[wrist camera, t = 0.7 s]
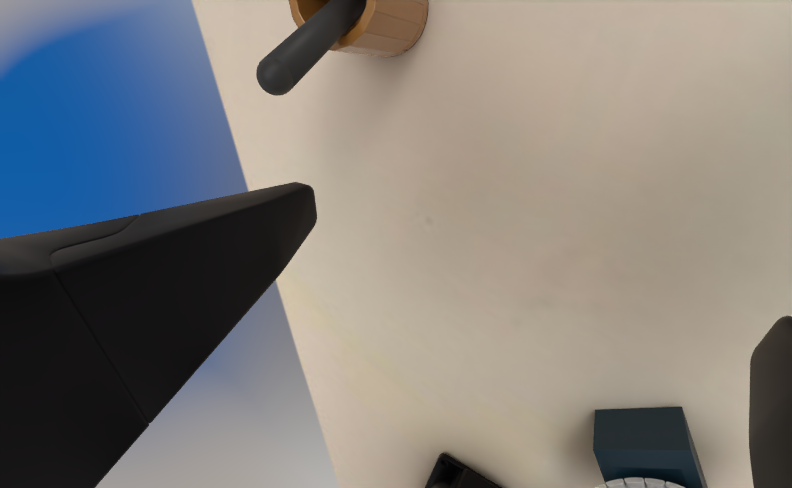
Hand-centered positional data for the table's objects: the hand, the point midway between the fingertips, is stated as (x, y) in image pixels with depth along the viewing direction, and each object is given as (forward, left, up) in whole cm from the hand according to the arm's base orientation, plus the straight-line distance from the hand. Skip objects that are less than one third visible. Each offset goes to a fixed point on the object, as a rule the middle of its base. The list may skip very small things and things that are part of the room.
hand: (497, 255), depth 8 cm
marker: (+3, +11, -14) cm, 18 cm away
